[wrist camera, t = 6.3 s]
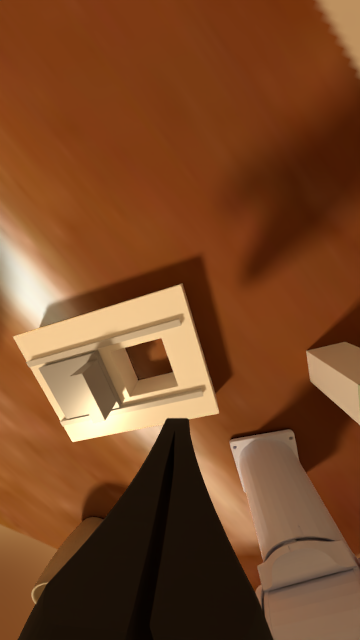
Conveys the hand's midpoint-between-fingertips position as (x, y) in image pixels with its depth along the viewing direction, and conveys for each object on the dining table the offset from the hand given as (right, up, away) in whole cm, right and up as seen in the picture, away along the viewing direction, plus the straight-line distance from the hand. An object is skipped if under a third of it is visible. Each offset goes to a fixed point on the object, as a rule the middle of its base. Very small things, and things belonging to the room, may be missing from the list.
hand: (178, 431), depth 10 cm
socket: (-5, +2, +10) cm, 11 cm away
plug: (+17, +2, +9) cm, 19 cm away
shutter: (-10, 0, +8) cm, 13 cm away
